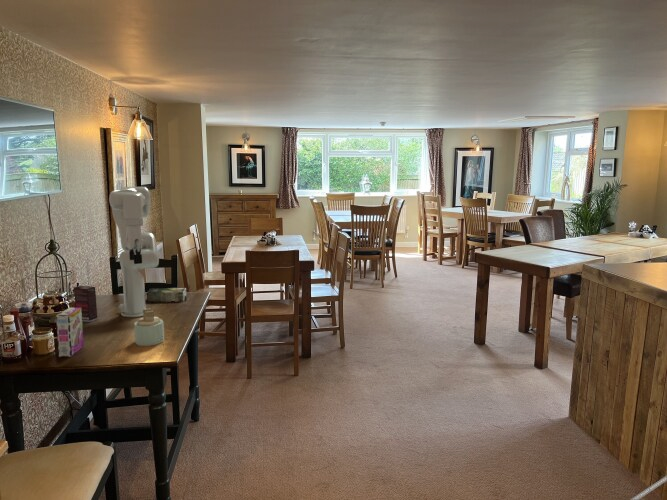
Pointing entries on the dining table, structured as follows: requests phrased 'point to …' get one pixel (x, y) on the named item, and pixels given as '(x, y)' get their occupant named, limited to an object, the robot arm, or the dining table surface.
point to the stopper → (148, 318)
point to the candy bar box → (69, 332)
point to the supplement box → (86, 302)
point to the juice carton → (166, 294)
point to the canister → (149, 334)
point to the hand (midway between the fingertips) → (135, 261)
